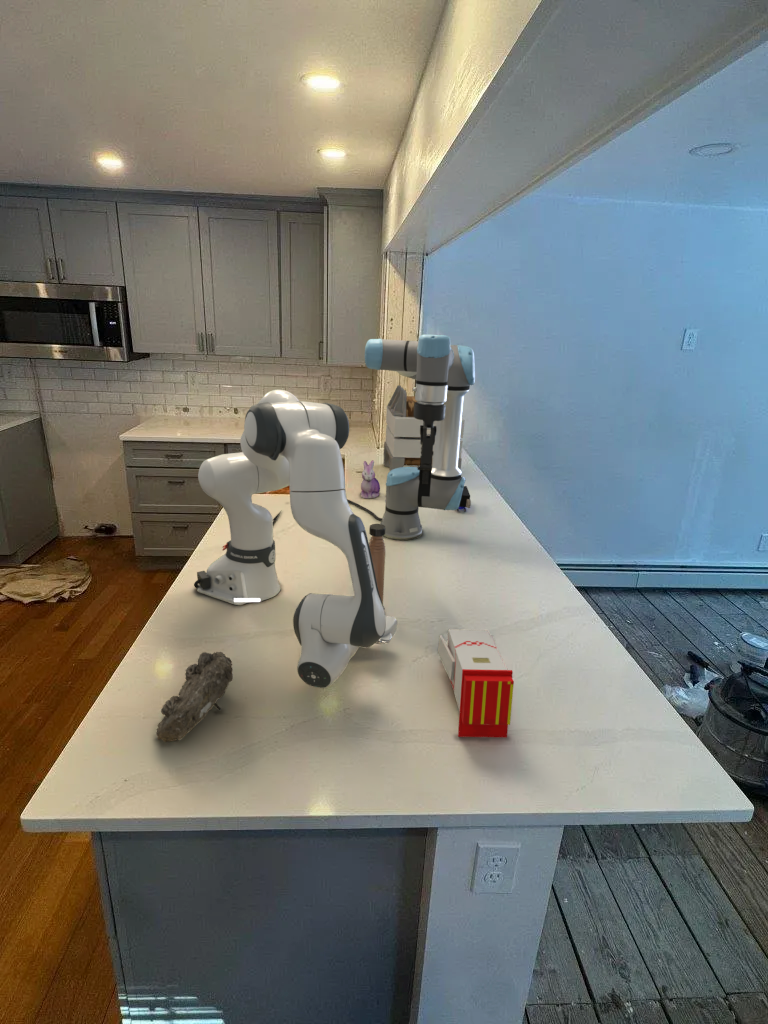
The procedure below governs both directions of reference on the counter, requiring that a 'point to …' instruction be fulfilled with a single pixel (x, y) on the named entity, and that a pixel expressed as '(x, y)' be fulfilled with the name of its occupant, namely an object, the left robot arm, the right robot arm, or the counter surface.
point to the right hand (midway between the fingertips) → (424, 487)
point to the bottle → (378, 561)
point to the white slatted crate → (405, 432)
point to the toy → (478, 682)
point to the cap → (377, 530)
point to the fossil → (195, 695)
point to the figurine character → (465, 499)
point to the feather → (275, 518)
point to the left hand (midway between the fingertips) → (363, 606)
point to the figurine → (369, 482)
